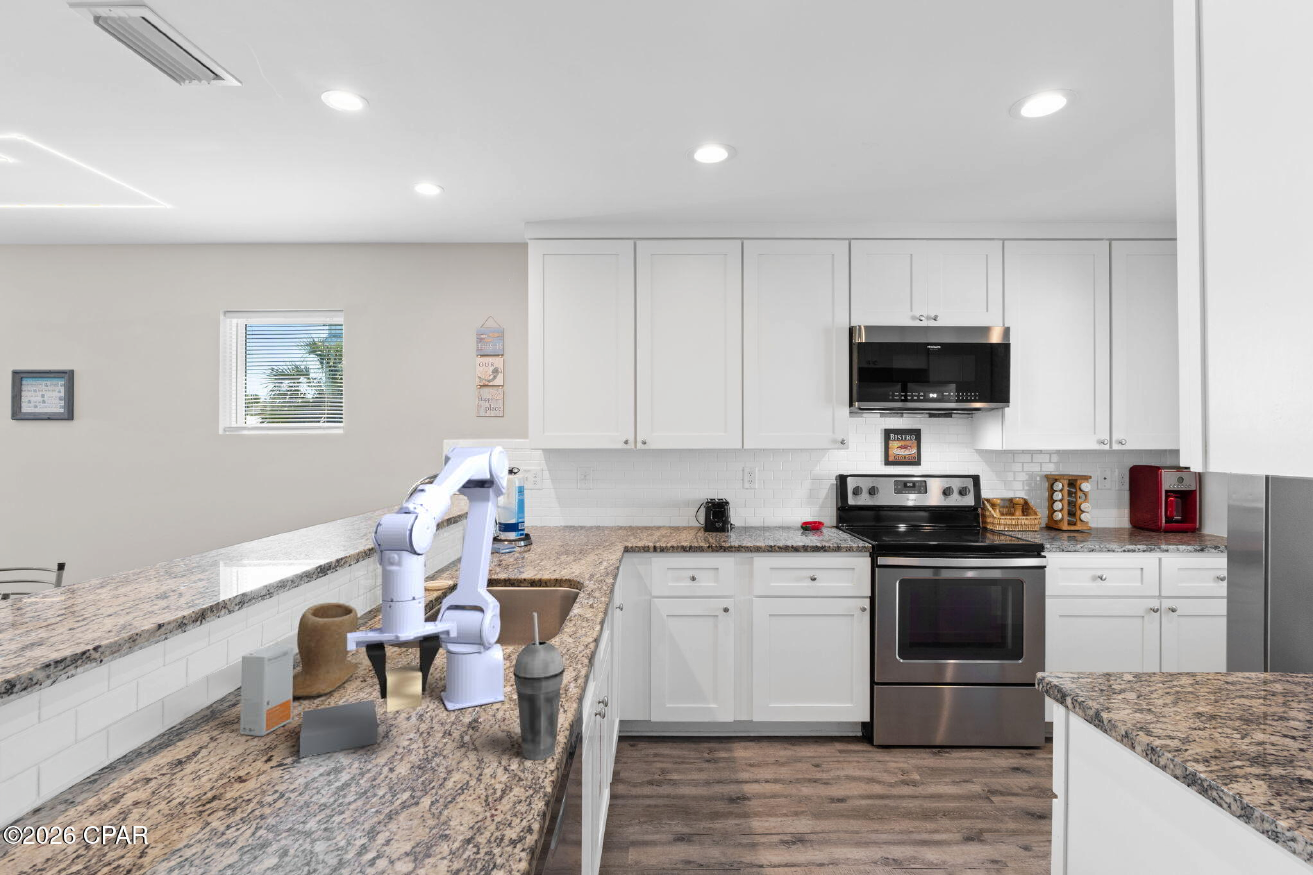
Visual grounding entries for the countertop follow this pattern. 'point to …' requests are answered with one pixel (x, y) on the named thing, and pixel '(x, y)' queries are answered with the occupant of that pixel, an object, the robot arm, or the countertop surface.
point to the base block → (338, 728)
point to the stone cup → (324, 648)
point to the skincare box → (266, 690)
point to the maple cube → (403, 688)
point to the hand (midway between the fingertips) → (402, 693)
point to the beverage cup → (538, 696)
